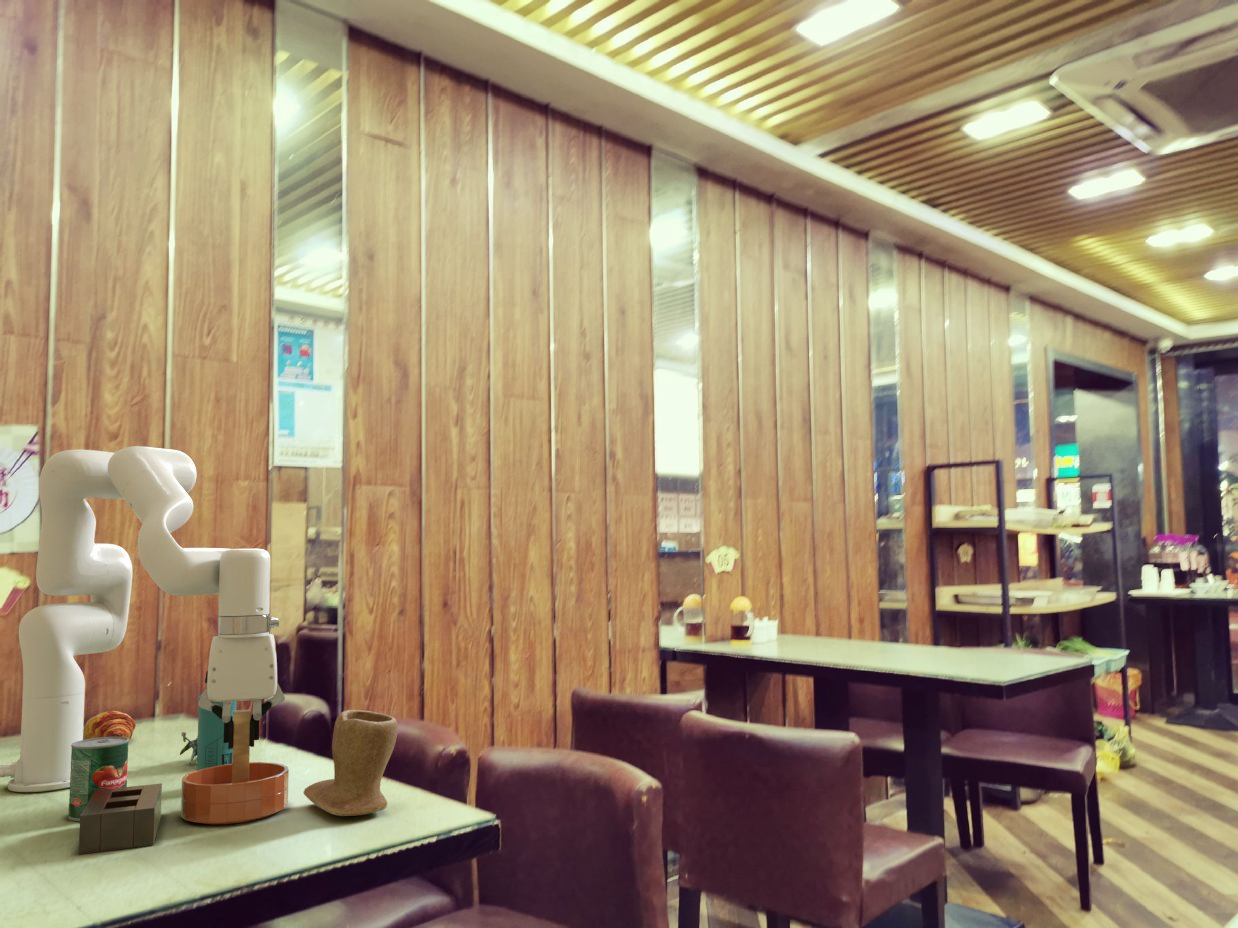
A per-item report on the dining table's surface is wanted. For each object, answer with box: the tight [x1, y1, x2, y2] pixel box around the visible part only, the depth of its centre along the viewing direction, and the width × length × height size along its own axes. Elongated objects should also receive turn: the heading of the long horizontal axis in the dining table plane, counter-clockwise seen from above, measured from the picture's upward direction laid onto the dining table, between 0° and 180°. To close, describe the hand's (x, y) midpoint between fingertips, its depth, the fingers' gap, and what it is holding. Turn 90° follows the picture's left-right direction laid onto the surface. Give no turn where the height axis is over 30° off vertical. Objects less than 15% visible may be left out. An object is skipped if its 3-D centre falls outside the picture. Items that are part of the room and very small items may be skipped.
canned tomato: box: [67, 737, 130, 822], centre depth 144 cm, size 8×8×11 cm
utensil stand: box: [78, 783, 163, 855], centre depth 133 cm, size 9×16×5 cm, turn 23°
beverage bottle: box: [195, 670, 238, 770], centre depth 160 cm, size 6×7×20 cm
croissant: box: [83, 710, 137, 740], centre depth 202 cm, size 21×10×8 cm, turn 41°
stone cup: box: [303, 709, 399, 817], centre depth 145 cm, size 15×12×15 cm
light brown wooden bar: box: [232, 709, 251, 783], centre depth 144 cm, size 2×2×13 cm
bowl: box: [180, 761, 289, 825], centre depth 143 cm, size 15×15×6 cm
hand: (241, 745), depth 144 cm, fingers closed on light brown wooden bar, 2 cm apart
